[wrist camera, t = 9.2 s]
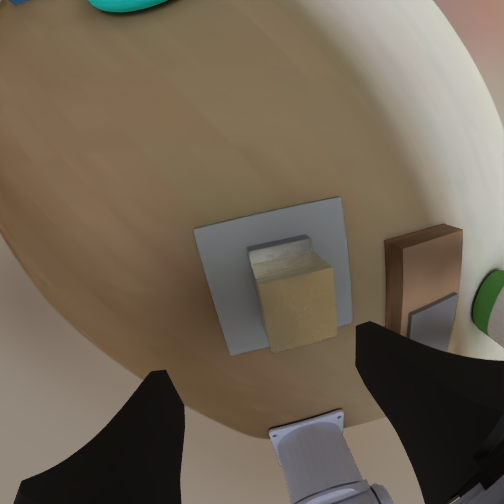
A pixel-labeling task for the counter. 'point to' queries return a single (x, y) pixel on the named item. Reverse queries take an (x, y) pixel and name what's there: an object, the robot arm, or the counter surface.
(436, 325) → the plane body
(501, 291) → the wine bottle
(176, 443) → the robot arm
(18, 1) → the perfume bottle
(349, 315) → the slate mat
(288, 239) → the tan small block
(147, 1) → the turquoise yoyo
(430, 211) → the counter surface
